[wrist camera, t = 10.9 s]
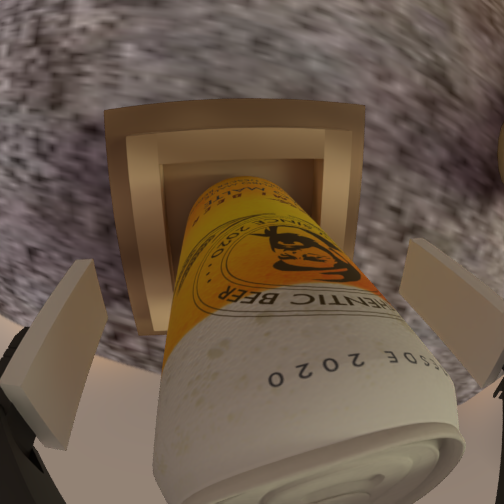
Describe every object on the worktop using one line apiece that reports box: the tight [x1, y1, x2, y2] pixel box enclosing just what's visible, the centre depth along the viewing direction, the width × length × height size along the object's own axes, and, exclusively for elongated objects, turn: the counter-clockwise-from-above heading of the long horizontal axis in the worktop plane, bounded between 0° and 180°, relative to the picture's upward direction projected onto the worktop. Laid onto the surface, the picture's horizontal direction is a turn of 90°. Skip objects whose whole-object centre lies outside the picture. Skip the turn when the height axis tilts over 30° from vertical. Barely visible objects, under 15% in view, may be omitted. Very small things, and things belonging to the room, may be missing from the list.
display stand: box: [104, 98, 365, 336], centre depth 19 cm, size 14×14×6 cm
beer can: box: [153, 176, 465, 504], centre depth 11 cm, size 6×6×15 cm
